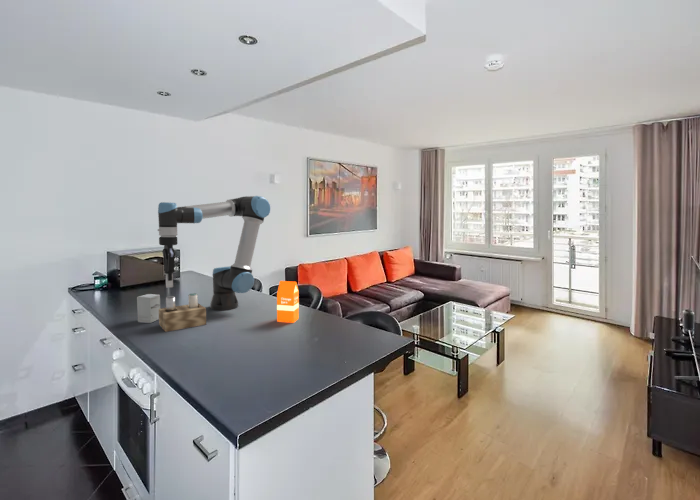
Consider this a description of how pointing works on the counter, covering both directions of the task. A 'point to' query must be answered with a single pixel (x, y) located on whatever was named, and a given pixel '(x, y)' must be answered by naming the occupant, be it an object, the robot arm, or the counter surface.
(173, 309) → the aluminium peg
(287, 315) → the orange juice
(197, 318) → the oak socket block
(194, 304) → the cream peg
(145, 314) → the supplement box
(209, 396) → the counter surface
